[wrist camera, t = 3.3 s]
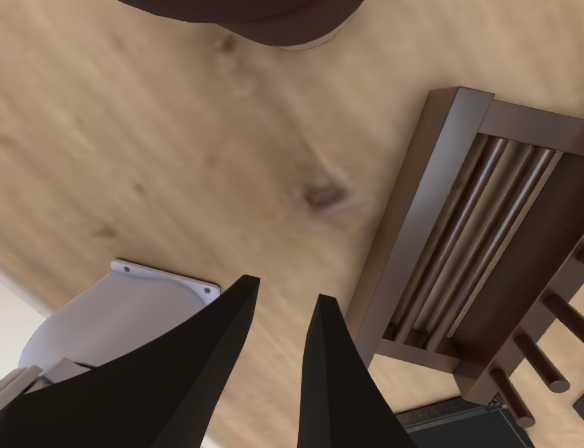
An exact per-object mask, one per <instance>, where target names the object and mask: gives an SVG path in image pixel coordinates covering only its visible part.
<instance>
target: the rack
mask: <svg viewBox="0 0 584 448" xmlns="http://www.w3.org/2000/svg"><path fill="white" fill-rule="evenodd" d="M494 96H495V94H494V93H489V92H485V91H480V90H476V89H471V88H466V87H462V86H457V87H451V88H444V89H437V90H431V91H430V93H429V96H428V98H427V101H426V104H425V106H424V109H423V112H422V114H421V117H420V120H419V122H418V125H417V128H416V130H415V133H414V136H413V138H412V141H411V144H410V146H409V149H408V152H407V154H406V157H405V160H404V162H403V165H402V168H401V170H400V173H399V176H398V178H397V181H396V184H395V186H394V189H393V192H392V194H391V197H390V200H389V202H388V205H387V208H386V210H385V213H384V216H383V218H382V221H381V224H380V226H379V229H378V232H377V234H376V237H375V240H374V242H373V245H372V248H371V250H370V253H369V256H368V258H367V261H366V264H365V266H364V269H363V272H362V275H361V277H360V280H359V283H358V285H357V288H356V291H355V293H354V296H353V299H352V301H351V304H350V307H349V309H348V312H347V315H346V317H345V320H344V321H345V324H346V326H347V329H348V331H349V333H350V336H351V338H352V340H353V342H354V344H355V347H356V349H357V351H358V353H359V355H360V357H361V359H362V361H363V363H364V365H365V367H366V368H367V369H368V367H369V365H370V363H371V360H372V358H373V356H374V354H375V353H376V354H380V355H383V356H387V357H391V358H395V359H398V360H402V361H406V362H410V363H413V364H417V365H421V366H425V367H428V368H432V369H436V370H439V371H443V372H447V373H451V374H453V377H454V379H455V381H456V383H457V386H458V388H459V390H460V393H461V395H462V397H463V399H464V400H467V401H470V402H474V403H478V404H481V405H485V406H487V404H488V403H489V402H490V401H491V399H492V398H493V397H494V396H495V394H496V393H497V392H498V391H499V393H500V395H501V397H502V398H503V400H504V402H505V404H506V405H507V407H508V409H509V411H510V412H511V414H512V416H513V418H514V419H515V421H516V423H517V424H518V425H519V426H521V427H524V428H527V427H532V426H533V425H534V424H535V419H534V417H533V416H532V414H531V412H530V411H529V409H528V408H527V406H526V405H525V403H524V401H523V400H522V398H521V397H520V395H519V394H518V392H517V390H516V389H515V387H514V386H513V384H512V383H511V381H510V379H509V377H510V376H511V374H512V373H513V372H514V370H515V369H516V368H517V367H518V365H519V364H520V363H521V362H522V360H523V359H524V358H525V357H526V359H527V360H528V361H529V363H530V364H531V365H532V367H533V368H534V369H535V371H536V372H537V373H538V375H539V376H540V377H541V379H542V380H543V381H544V383H545V384H546V385H547V387H548V388H549V389H550V390H551V391H552V392H555V393H562V392H565V391H567V390H568V389H569V388H570V383H569V382H568V381H567V380H566V379H565V377H564V376H563V375H562V374H561V373H560V371H559V370H558V369H557V368H556V367H555V365H554V364H553V363H552V362H551V361H550V360H549V358H548V357H547V356H546V355H545V354H544V352H543V351H542V350H541V349H540V348H539V346H538V345H537V344H536V343H537V342H538V340H539V339H540V338H541V336H542V335H543V334H544V333H545V331H546V330H547V329H548V328H549V326H550V325H551V324H552V323H553V321H554V320H555V319H556V318H558V319H559V320H560V321H561V322H562V323H563V324H564V325H565V326H566V327H567V328H568V329H569V330H570V331H571V332H572V333H573V334H574V335H575V336H576V337H577V338H578V339H579V340H580V341H582V342H583V343H584V316H583V315H582V314H581V313H579V312H578V311H577V310H576V309H575V308H573V307H572V306H571V305H570V304H569V303H568V302H569V301H570V300H571V299H572V297H573V296H574V295H575V294H576V292H577V291H578V290H579V289H580V287H581V286H582V285H583V284H584V119H580V118H576V117H571V116H566V115H562V114H557V113H553V112H548V111H544V110H539V109H534V108H530V107H525V106H521V105H516V104H512V103H507V102H503V101H498V100H493V99H494ZM477 133H480V134H484V135H488V137H487V139H486V141H485V143H484V145H483V147H482V149H481V151H480V153H479V155H478V157H477V159H476V162H475V164H474V166H473V168H472V170H471V172H470V174H469V176H468V178H467V180H466V182H465V184H464V186H463V188H462V190H461V193H460V195H459V197H458V199H457V201H456V203H455V205H454V207H453V209H452V211H451V213H450V215H449V217H448V219H447V222H446V224H445V226H444V228H443V230H442V232H441V234H440V236H439V238H438V240H437V242H436V244H435V246H434V248H433V251H432V253H431V255H430V257H429V259H428V261H427V263H426V265H425V267H424V269H423V271H422V273H421V275H420V277H419V279H418V282H417V284H416V286H415V288H414V290H413V292H412V294H411V296H410V298H409V300H408V302H407V304H406V306H405V308H404V311H403V313H402V315H401V317H400V319H399V321H398V323H397V325H396V324H393V323H389V322H390V320H391V317H392V315H393V313H394V311H395V309H396V307H397V305H398V302H399V300H400V298H401V296H402V294H403V292H404V290H405V287H406V285H407V283H408V281H409V279H410V277H411V275H412V272H413V270H414V268H415V266H416V264H417V262H418V260H419V257H420V255H421V253H422V251H423V249H424V247H425V244H426V242H427V240H428V238H429V236H430V234H431V232H432V229H433V227H434V225H435V223H436V221H437V219H438V217H439V214H440V212H441V210H442V208H443V206H444V204H445V202H446V199H447V197H448V195H449V193H450V191H451V189H452V187H453V184H454V182H455V180H456V178H457V176H458V174H459V172H460V169H461V167H462V165H463V163H464V161H465V159H466V156H467V154H468V152H469V150H470V148H471V146H472V144H473V141H474V139H475V137H476V135H477ZM509 140H511V141H515V142H519V143H524V144H528V145H533V147H532V149H531V151H530V152H529V154H528V156H527V158H526V160H525V161H524V163H523V165H522V167H521V169H520V170H519V172H518V174H517V176H516V178H515V179H514V181H513V183H512V185H511V187H510V188H509V190H508V192H507V194H506V196H505V197H504V199H503V201H502V203H501V204H500V206H499V208H498V210H497V212H496V213H495V215H494V217H493V219H492V221H491V222H490V224H489V226H488V228H487V230H486V231H485V233H484V235H483V237H482V239H481V240H480V242H479V244H478V246H477V248H476V249H475V251H474V253H473V255H472V257H471V258H470V260H469V262H468V264H467V265H466V267H465V269H464V271H463V273H462V274H461V276H460V278H459V280H458V282H457V283H456V285H455V287H454V289H453V291H452V292H451V294H450V296H449V298H448V300H447V301H446V303H445V305H444V307H443V309H442V310H441V312H440V314H439V316H438V318H437V319H436V321H435V323H434V325H433V326H432V328H431V330H430V332H429V333H427V332H423V331H419V330H416V329H412V328H413V326H414V324H415V322H416V320H417V318H418V316H419V314H420V312H421V310H422V308H423V306H424V305H425V303H426V301H427V299H428V297H429V295H430V293H431V291H432V289H433V287H434V285H435V283H436V281H437V279H438V278H439V276H440V274H441V272H442V270H443V268H444V266H445V264H446V262H447V260H448V258H449V256H450V254H451V252H452V251H453V249H454V247H455V245H456V243H457V241H458V239H459V237H460V235H461V233H462V231H463V229H464V227H465V225H466V224H467V222H468V220H469V218H470V216H471V214H472V212H473V210H474V208H475V206H476V204H477V202H478V200H479V198H480V196H481V195H482V193H483V191H484V189H485V187H486V185H487V183H488V181H489V179H490V177H491V175H492V173H493V171H494V169H495V168H496V166H497V164H498V162H499V160H500V158H501V156H502V154H503V152H504V150H505V148H506V146H507V144H508V142H509ZM556 151H559V152H564V153H565V154H564V156H563V157H562V159H561V161H560V162H559V164H558V165H557V167H556V169H555V170H554V172H553V174H552V175H551V177H550V179H549V180H548V182H547V183H546V185H545V187H544V188H543V190H542V192H541V193H540V195H539V197H538V198H537V200H536V201H535V203H534V205H533V206H532V208H531V210H530V211H529V213H528V215H527V216H526V218H525V219H524V221H523V223H522V224H521V226H520V228H519V229H518V231H517V233H516V234H515V236H514V237H513V239H512V241H511V242H510V244H509V246H508V247H507V249H506V251H505V252H504V254H503V255H502V257H501V259H500V260H499V262H498V264H497V265H496V267H495V269H494V270H493V272H492V273H491V275H490V277H489V278H488V280H487V282H486V283H485V285H484V287H483V288H482V290H481V291H480V293H479V295H478V296H477V298H476V300H475V301H474V303H473V305H472V306H471V308H470V309H469V311H468V313H467V314H466V316H465V318H464V319H463V321H462V323H461V324H460V326H459V327H458V329H457V331H456V332H455V334H454V336H453V337H452V339H450V338H446V335H447V334H448V332H449V330H450V329H451V327H452V325H453V324H454V322H455V320H456V319H457V317H458V315H459V314H460V312H461V310H462V309H463V307H464V305H465V304H466V302H467V300H468V299H469V297H470V295H471V294H472V292H473V290H474V289H475V287H476V285H477V284H478V282H479V280H480V278H481V277H482V275H483V273H484V272H485V270H486V268H487V267H488V265H489V263H490V262H491V260H492V258H493V257H494V255H495V253H496V252H497V250H498V248H499V247H500V245H501V243H502V242H503V240H504V238H505V237H506V235H507V233H508V232H509V230H510V228H511V227H512V225H513V223H514V221H515V220H516V218H517V216H518V215H519V213H520V211H521V210H522V208H523V206H524V205H525V203H526V201H527V200H528V198H529V196H530V195H531V193H532V191H533V190H534V188H535V186H536V185H537V183H538V181H539V180H540V178H541V176H542V175H543V173H544V171H545V170H546V168H547V166H548V164H549V163H550V161H551V159H552V158H553V156H554V154H555V153H556Z"/></svg>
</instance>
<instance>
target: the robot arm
mask: <svg viewBox="0 0 584 448" xmlns="http://www.w3.org/2000/svg"><path fill="white" fill-rule="evenodd" d="M260 279H261V278H258V277H254V276H250V275H246V274H245V275H243V276H241V277H240V278H239V279H238V280H237V281H236V282H235V283H234V284H233V285H232V286H230V287H229V288H228V289H227V290H226V291H225V292H223V293H222V294H221V295H220V288H219V287H218V286H217V285H214V284H210V283H206V282H203V281H199V280H195V279H191V278H187V277H184V276H180V275H176V274H172V273H168V272H165V271H161V270H157V269H153V268H149V267H146V266H142V265H138V264H134V263H130V262H127V261H123V260H119V259H115V260H114V261H112V262H111V271H110V272H109V273H107V274H106V275H105V276H103V277H102V278H101V279H99V280H98V281H97V282H95V283H94V284H93V285H91V286H90V287H89V288H87V289H86V290H84V291H83V292H82V293H80V294H79V295H78V296H76V297H75V298H74V299H72V300H71V301H70V302H68V303H67V304H66V305H64V306H63V307H61V308H60V309H59V310H57V311H56V312H55V313H53V314H52V315H51V316H50V317H49V318H47V319H46V320H45V321H44V322H43V324H41V325H40V327H39V328H38V329H37V330H36V331H35V333H34V334H33V335H32V337H31V338H30V339H29V341H28V342H27V344H26V346H25V348H24V349H23V352H22V354H21V357H20V360H19V365H18V368H17V369H14V370H13V371H12V372H10V373H9V374H8V375H6V376H5V377H4V378H3V379H2V380H0V448H200V446H201V443H202V440H203V438H204V435H205V432H206V430H207V427H208V424H209V421H210V419H211V416H212V414H213V411H214V409H215V406H216V404H217V402H218V400H219V397H220V395H221V393H222V391H223V389H224V387H225V385H226V382H227V380H228V378H229V376H230V374H231V372H232V369H233V367H234V365H235V363H236V361H237V359H238V357H239V354H240V352H241V350H242V348H243V346H244V343H245V340H246V338H247V335H248V332H249V329H250V326H251V323H252V320H253V315H254V310H255V305H256V300H257V294H258V289H259V284H260ZM207 288H208V289H210V290H207ZM297 448H418V447H417V445H416V444H415V442H414V441H413V440H412V438H411V437H410V436H409V434H408V433H407V431H406V430H405V429H404V427H403V426H402V425H401V423H400V422H399V420H398V419H397V418H396V416H395V415H394V413H393V412H392V410H391V409H390V407H389V406H388V404H387V403H386V401H385V399H384V398H383V396H382V394H381V393H380V391H379V390H378V388H377V386H376V385H375V383H374V381H373V379H372V378H371V376H370V374H369V372H368V370H367V368H366V367H365V365H364V363H363V361H362V359H361V357H360V355H359V353H358V351H357V349H356V347H355V344H354V342H353V340H352V338H351V336H350V333H349V331H348V329H347V326H346V324H345V321H344V319H343V316H342V313H341V311H340V308H339V305H338V302H337V300H336V298H335V297H331V296H327V295H323V294H319V296H318V299H317V303H316V306H315V309H314V312H313V316H312V319H311V322H310V325H309V329H308V332H307V337H306V343H305V349H304V355H303V364H302V382H301V401H300V419H299V433H298V443H297Z"/></svg>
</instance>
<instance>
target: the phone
mask: <svg viewBox="0 0 584 448" xmlns="http://www.w3.org/2000/svg"><path fill="white" fill-rule="evenodd" d="M396 418H397V419H398V420H399V422H400V423H401V425H402V426H403V427H404V429H405V430H406V431H407V433H408V434H409V436H410V437H411V438H412V440H413V441H414V442H415V444H416V445H417V447H418V448H535V446H534V445H533V443H532V441H531V440H530V438H529V436H528V435H527V433H526V431H525V430H524V428H523V427H521V426H519V425H518V424H517V423H516V421H515V419H514V418H513V416H512V414H511V412H510V411H509V409H508V407H507V405H506V404H505V402H504V400H503V398H502V397H501V395H500V393H499V392H497V393H496V394H495V396H494V397H493V398H492V399H491V401H490V402H489V403H488V404H487V406H485V405H481V404H478V403H474V402H470V401H467V400H464V399H463V397H460V398H457V399H453V400H450V401H446V402H442V403H439V404H435V405H432V406H428V407H424V408H421V409H417V410H414V411H410V412H407V413H403V414H399V415H396Z"/></svg>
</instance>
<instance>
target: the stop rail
mask: <svg viewBox="0 0 584 448" xmlns="http://www.w3.org/2000/svg"><path fill="white" fill-rule="evenodd" d="M573 408H574V409H575V410H576V411H577V413H578V414H579V415H580V417H581V418H582V419H583V420H584V396H583V397H582V398H581V399H580V400H579V401H578V402H577V403H576V404H575V405H574V406H573Z"/></svg>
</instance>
